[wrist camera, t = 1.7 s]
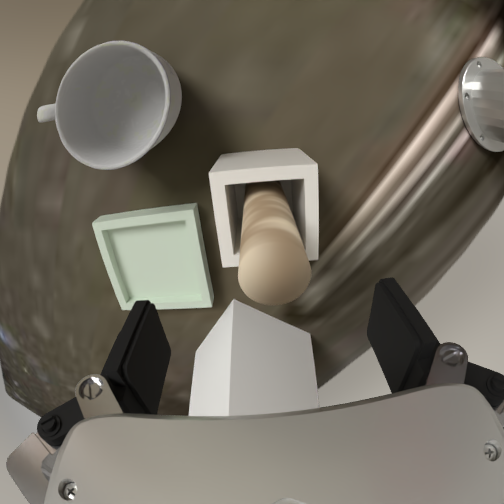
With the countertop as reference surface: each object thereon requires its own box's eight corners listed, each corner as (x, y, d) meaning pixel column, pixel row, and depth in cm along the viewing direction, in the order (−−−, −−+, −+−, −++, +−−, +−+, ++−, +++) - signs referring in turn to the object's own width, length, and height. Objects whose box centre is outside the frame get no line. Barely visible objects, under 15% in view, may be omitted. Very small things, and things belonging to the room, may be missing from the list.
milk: (195, 351, 40) (168, 523, 17) (233, 298, 36) (217, 519, 13) (265, 377, 43) (270, 534, 20) (310, 333, 38) (343, 519, 15)
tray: (196, 202, 30) (193, 209, 28) (214, 296, 35) (212, 307, 33) (100, 216, 30) (91, 223, 28) (127, 299, 36) (122, 309, 34)
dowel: (280, 170, 27) (311, 240, 13) (282, 204, 29) (310, 302, 15) (243, 173, 28) (233, 246, 13) (247, 207, 29) (242, 307, 15)
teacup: (203, 62, 23) (186, 46, 16) (176, 164, 28) (151, 183, 21) (85, 51, 21) (42, 43, 14) (67, 142, 26) (23, 157, 19)
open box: (298, 147, 27) (317, 164, 19) (301, 218, 31) (318, 259, 23) (221, 154, 27) (208, 172, 19) (230, 224, 31) (222, 267, 23)
